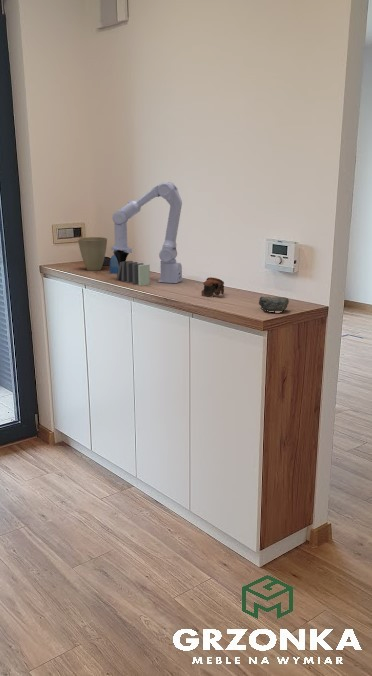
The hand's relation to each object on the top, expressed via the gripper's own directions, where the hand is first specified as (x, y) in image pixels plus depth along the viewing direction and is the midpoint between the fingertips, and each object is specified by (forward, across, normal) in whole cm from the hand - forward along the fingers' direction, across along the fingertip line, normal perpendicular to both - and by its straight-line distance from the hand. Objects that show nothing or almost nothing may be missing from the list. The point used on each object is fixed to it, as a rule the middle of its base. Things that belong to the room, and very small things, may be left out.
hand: (121, 267), depth 274 cm
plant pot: (+6, -35, +5) cm, 36 cm away
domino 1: (+6, 0, 0) cm, 6 cm away
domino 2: (+6, +4, 0) cm, 7 cm away
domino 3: (+6, +9, 0) cm, 11 cm away
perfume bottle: (+6, -19, +10) cm, 22 cm away
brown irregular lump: (+6, +55, +9) cm, 56 cm away
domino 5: (+6, +18, 0) cm, 19 cm away
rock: (+6, +88, +7) cm, 89 cm away
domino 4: (+6, +13, 0) cm, 15 cm away
